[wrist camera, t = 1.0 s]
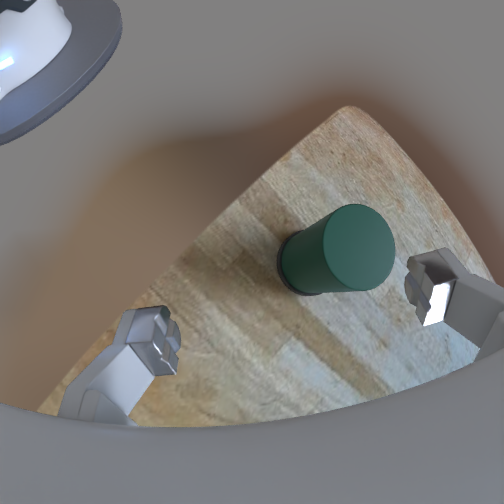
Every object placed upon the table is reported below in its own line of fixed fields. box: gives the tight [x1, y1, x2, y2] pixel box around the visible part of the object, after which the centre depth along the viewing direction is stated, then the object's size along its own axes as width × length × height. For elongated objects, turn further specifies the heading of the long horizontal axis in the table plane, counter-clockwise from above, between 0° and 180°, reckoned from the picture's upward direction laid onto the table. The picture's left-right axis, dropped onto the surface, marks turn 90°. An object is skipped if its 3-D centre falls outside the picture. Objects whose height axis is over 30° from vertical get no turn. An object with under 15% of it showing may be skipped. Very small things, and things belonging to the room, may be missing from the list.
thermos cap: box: [277, 204, 395, 296], centre depth 21 cm, size 6×6×9 cm
